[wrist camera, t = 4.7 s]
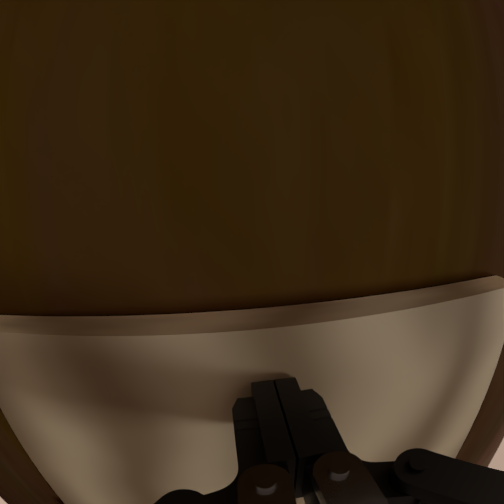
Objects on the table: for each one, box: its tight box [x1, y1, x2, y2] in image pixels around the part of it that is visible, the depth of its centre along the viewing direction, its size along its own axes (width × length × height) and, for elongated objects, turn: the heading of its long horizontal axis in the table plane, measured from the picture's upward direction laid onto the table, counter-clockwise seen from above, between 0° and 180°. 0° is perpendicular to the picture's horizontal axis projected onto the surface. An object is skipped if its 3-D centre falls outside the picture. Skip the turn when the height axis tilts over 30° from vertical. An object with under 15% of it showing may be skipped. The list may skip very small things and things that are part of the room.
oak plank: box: [0, 275, 504, 504], centre depth 12 cm, size 24×14×2 cm, turn 92°
